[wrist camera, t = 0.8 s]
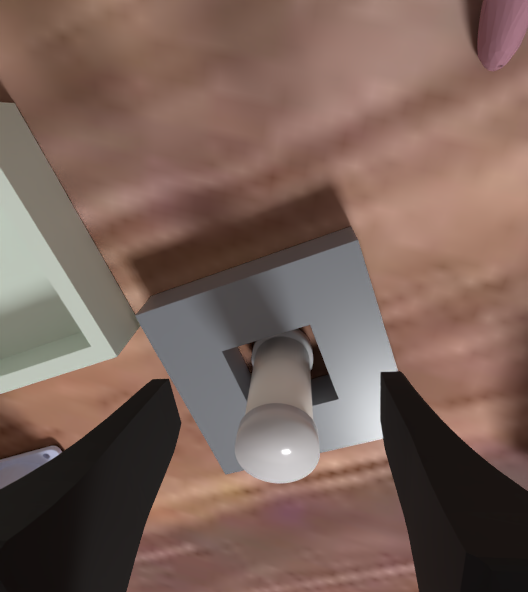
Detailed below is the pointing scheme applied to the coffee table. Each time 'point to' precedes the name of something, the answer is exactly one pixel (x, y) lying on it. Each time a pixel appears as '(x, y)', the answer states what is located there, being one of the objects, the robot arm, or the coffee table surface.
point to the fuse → (279, 411)
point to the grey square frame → (271, 321)
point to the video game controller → (501, 31)
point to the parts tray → (49, 272)
